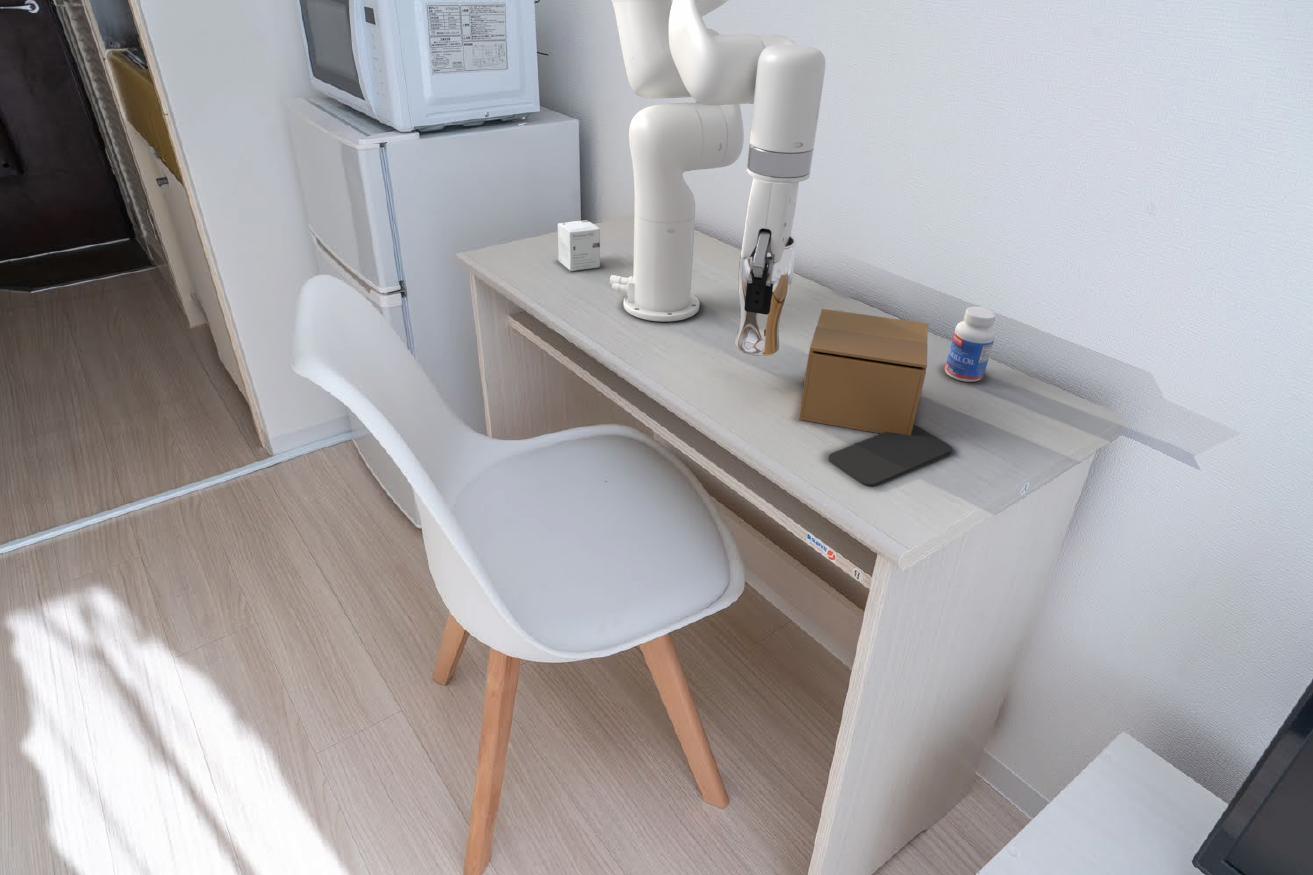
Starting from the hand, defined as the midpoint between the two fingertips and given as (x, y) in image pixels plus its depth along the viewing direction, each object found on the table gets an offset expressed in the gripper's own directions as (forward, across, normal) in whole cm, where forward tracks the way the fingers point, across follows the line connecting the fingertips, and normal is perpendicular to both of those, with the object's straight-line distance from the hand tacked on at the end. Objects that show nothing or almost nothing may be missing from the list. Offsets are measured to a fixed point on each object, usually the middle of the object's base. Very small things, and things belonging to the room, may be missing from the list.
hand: (762, 299), depth 105 cm
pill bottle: (+13, -13, +29) cm, 34 cm away
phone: (+13, +12, +19) cm, 26 cm away
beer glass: (+7, 0, 0) cm, 7 cm away
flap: (+3, -2, +14) cm, 15 cm away
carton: (+12, +1, +15) cm, 19 cm away
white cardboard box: (+14, -35, -39) cm, 55 cm away
